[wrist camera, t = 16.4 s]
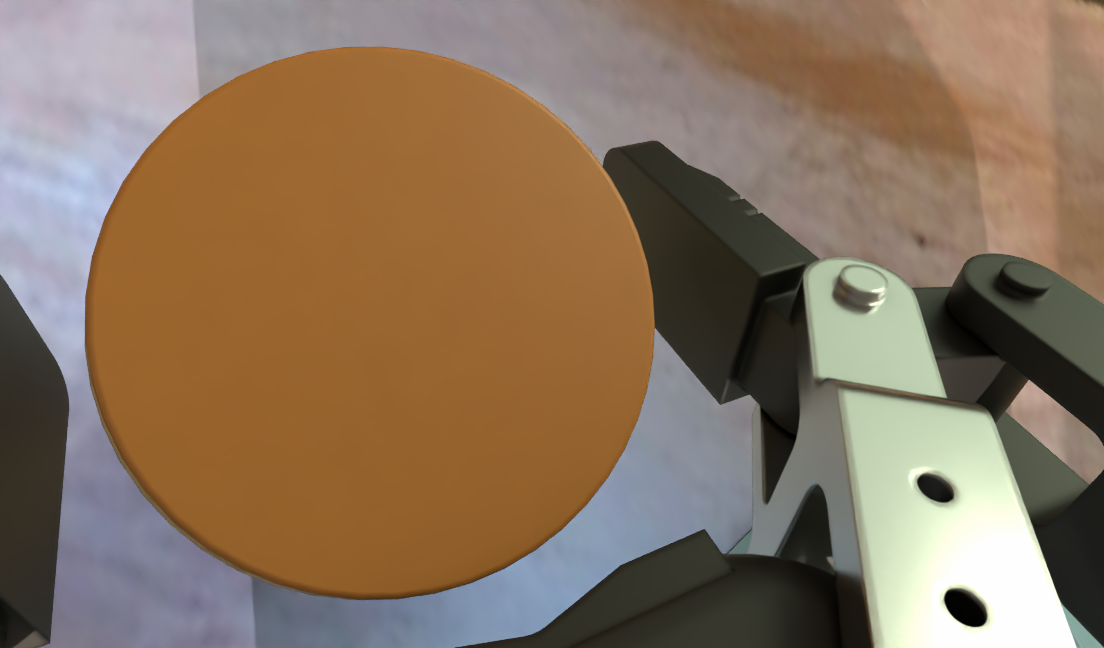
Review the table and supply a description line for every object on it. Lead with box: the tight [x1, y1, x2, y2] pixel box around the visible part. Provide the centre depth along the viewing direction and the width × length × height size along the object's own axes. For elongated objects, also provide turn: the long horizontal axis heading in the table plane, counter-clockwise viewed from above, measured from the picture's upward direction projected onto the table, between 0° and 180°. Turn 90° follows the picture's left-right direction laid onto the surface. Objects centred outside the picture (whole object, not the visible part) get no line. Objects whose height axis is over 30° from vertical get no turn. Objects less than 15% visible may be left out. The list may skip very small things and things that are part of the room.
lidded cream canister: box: [85, 47, 655, 600], centre depth 10 cm, size 5×5×8 cm
